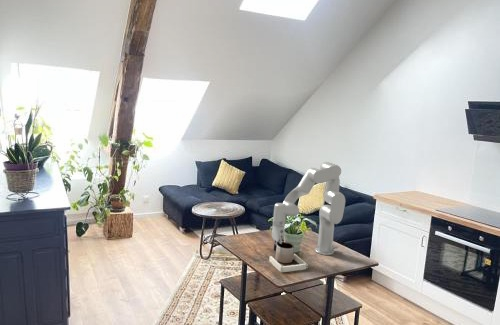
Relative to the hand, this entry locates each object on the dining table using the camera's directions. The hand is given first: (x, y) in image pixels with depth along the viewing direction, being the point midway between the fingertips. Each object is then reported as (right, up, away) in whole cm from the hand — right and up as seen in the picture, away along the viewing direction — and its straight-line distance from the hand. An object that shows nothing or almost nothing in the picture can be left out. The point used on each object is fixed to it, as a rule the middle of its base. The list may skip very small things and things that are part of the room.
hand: (276, 250), depth 233 cm
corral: (+6, -5, -13) cm, 15 cm away
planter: (+4, -4, -6) cm, 9 cm away
